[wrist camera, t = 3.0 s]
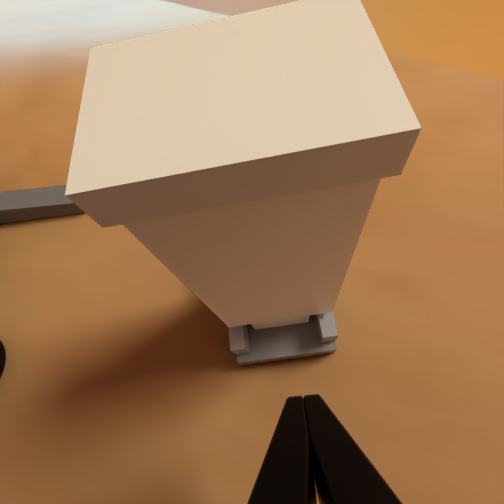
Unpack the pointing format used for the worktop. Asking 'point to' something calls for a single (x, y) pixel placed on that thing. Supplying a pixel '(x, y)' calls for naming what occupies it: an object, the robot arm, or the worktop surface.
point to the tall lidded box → (245, 152)
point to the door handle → (33, 214)
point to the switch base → (284, 340)
